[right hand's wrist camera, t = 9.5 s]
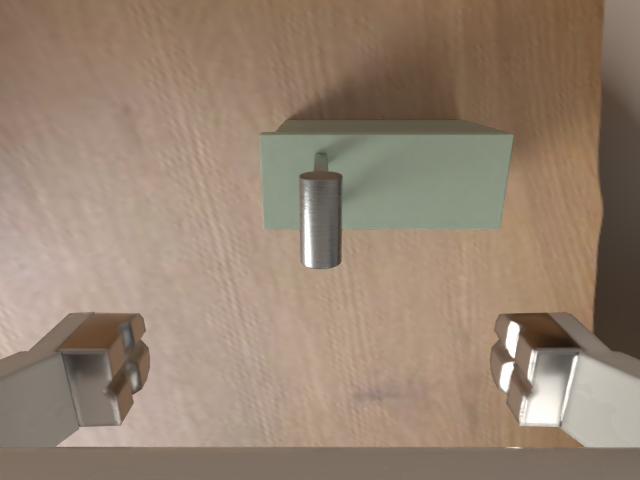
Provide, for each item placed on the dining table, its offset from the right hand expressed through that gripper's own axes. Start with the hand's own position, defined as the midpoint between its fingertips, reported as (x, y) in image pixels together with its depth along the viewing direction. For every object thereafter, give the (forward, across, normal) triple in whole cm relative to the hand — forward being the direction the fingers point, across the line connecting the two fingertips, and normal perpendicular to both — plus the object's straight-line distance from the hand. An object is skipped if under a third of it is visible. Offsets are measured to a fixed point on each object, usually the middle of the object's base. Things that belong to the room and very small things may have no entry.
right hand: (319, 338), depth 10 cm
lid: (+17, +4, 0) cm, 18 cm away
